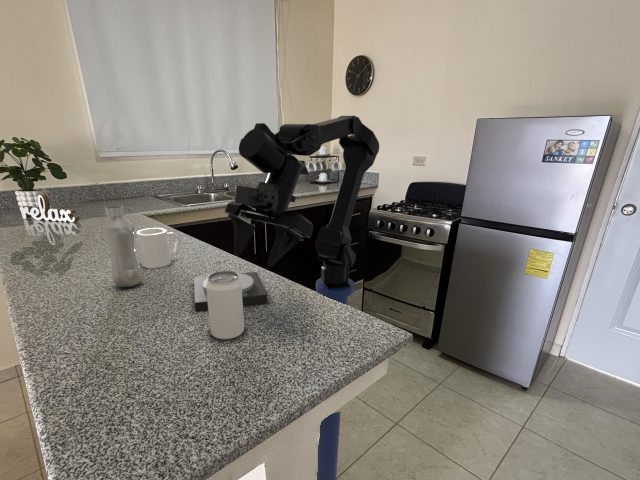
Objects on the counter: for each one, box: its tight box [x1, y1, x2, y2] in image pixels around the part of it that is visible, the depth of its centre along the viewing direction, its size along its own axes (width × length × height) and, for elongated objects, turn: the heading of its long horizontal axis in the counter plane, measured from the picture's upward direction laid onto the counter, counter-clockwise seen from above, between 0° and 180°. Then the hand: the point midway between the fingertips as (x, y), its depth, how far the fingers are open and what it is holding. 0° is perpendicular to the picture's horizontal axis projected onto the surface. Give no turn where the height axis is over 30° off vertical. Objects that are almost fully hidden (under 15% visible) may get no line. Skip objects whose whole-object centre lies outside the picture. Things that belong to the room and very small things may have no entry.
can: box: [206, 270, 245, 341], centre depth 67 cm, size 6×6×12 cm
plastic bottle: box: [102, 205, 143, 288], centre depth 85 cm, size 6×7×20 cm
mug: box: [135, 227, 182, 269], centre depth 103 cm, size 12×9×10 cm
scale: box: [193, 271, 268, 313], centre depth 85 cm, size 16×15×3 cm
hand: (252, 260), depth 67 cm, fingers open, 9 cm apart
